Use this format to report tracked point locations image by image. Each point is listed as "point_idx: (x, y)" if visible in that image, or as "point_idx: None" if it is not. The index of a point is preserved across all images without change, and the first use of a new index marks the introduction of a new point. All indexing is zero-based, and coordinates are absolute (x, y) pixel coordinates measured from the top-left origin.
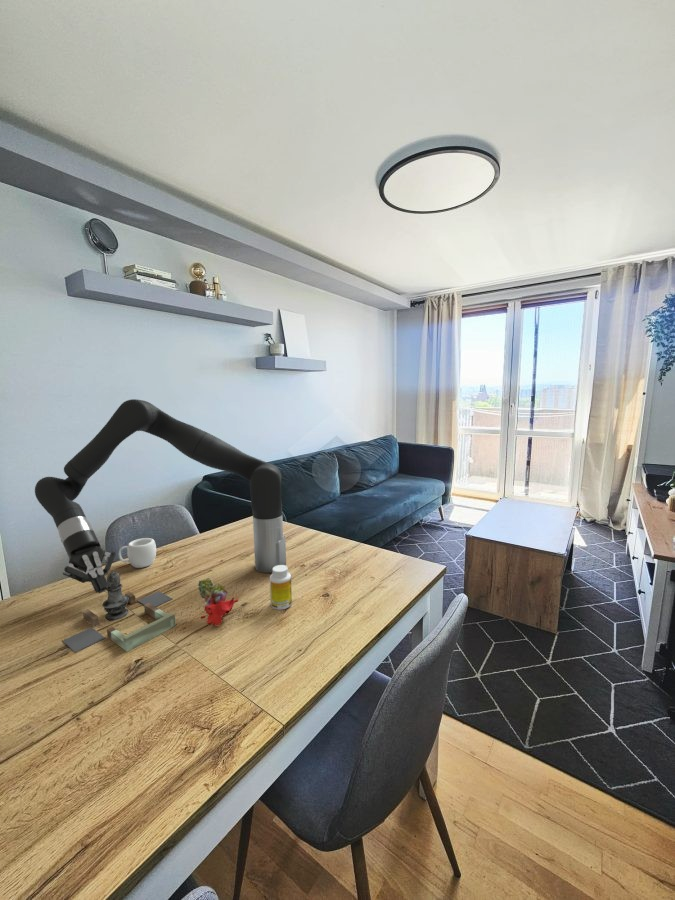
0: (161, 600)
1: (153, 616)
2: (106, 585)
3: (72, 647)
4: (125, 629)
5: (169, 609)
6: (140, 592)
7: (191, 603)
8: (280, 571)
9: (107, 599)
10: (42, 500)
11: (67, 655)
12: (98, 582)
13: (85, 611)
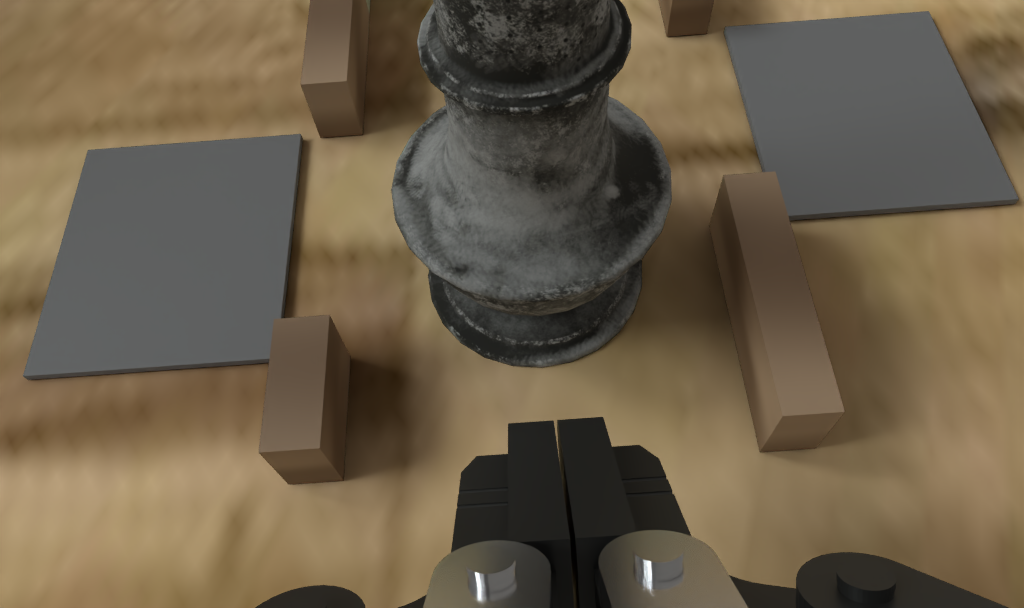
0: (160, 185)
1: (366, 20)
2: (493, 458)
3: (944, 65)
4: None
5: (227, 47)
6: (124, 541)
7: (84, 12)
8: None
9: (609, 169)
10: None
11: (976, 26)
12: (608, 470)
13: (815, 375)
